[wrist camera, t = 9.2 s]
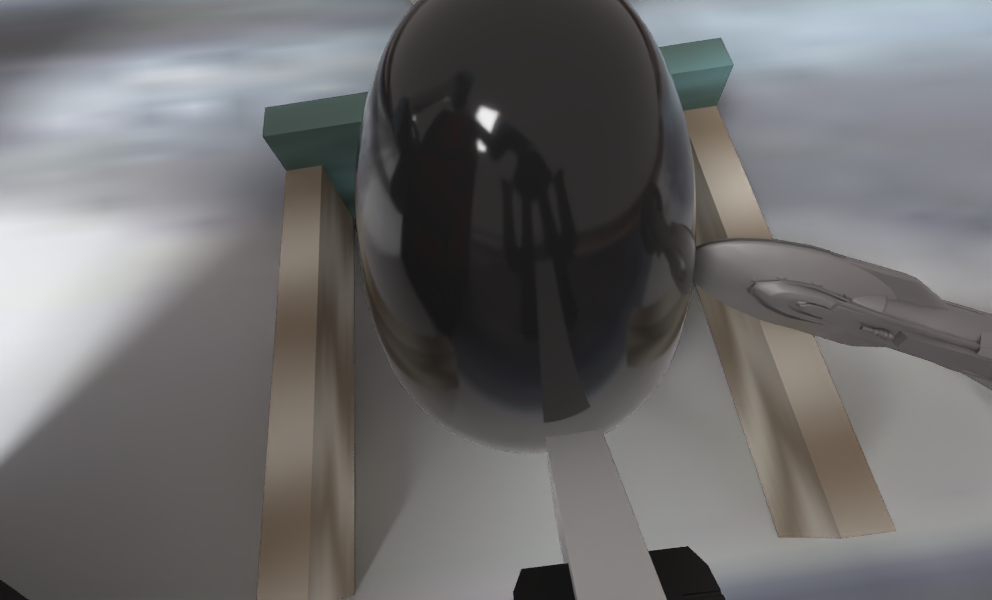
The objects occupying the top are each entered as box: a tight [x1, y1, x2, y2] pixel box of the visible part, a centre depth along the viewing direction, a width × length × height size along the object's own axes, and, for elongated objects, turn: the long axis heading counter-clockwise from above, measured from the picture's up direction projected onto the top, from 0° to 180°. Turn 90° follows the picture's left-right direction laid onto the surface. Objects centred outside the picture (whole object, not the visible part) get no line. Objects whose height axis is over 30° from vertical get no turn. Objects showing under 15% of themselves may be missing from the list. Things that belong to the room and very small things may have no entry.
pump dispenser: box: [355, 0, 696, 453], centre depth 14 cm, size 10×10×15 cm
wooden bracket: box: [256, 38, 896, 600], centre depth 19 cm, size 18×18×6 cm
